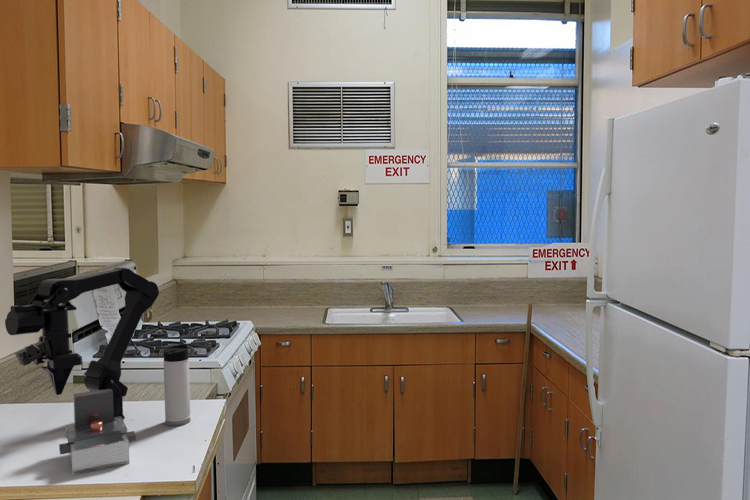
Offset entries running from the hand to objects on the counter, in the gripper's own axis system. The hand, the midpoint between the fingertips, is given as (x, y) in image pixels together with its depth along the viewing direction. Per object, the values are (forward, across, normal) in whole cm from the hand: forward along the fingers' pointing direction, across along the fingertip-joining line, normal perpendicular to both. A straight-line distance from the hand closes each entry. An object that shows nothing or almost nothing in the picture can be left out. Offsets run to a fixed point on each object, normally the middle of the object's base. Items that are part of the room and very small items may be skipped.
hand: (58, 394), depth 142 cm
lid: (+7, +16, +3) cm, 18 cm away
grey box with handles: (+13, +21, +2) cm, 24 cm away
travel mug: (+11, +9, +26) cm, 30 cm away
